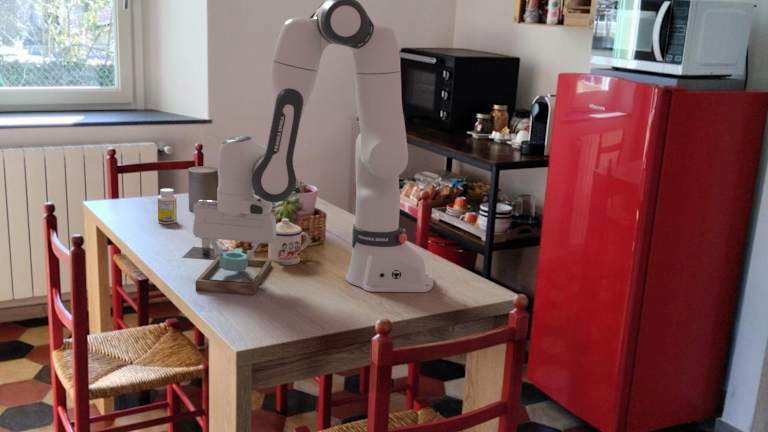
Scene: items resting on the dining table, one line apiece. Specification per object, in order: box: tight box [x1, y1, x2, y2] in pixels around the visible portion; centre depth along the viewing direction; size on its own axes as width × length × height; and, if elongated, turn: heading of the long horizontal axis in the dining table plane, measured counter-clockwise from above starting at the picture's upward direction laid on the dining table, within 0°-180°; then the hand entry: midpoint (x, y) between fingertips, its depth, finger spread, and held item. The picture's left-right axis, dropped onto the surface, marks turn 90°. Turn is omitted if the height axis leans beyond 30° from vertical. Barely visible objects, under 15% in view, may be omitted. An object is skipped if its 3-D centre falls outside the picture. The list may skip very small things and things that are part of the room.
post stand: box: [181, 238, 229, 261], centre depth 218 cm, size 10×10×6 cm
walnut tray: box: [195, 256, 272, 296], centre depth 202 cm, size 14×20×2 cm
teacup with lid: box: [267, 218, 310, 266], centre depth 219 cm, size 12×9×12 cm
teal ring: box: [218, 247, 249, 272], centre depth 203 cm, size 10×6×3 cm
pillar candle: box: [187, 165, 219, 212], centre depth 265 cm, size 10×10×15 cm
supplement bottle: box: [157, 188, 178, 225], centre depth 248 cm, size 6×6×10 cm
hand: (234, 256), depth 201 cm, fingers closed on teal ring, 7 cm apart
